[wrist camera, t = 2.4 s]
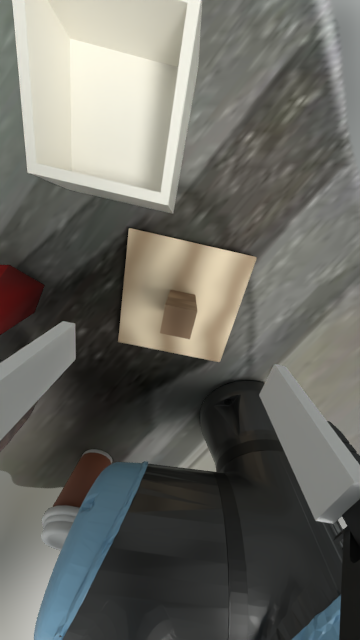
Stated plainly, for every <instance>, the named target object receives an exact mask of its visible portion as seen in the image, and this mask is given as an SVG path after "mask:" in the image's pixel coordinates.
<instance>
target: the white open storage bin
mask: <svg viewBox="0 0 360 640" xmlns="http://www.w3.org/2000/svg"><path fill="white" fill-rule="evenodd" d="M12 2H13V14H14V25H15V36H16V48H17V59H18V70H19V82H20V93H21V104H22V116H23V127H24V138H25V150H26V161H27V172H28V173H30V174H32V175H35V176H37V177H39V178H42V179H44V180H47V181H49V182H51V183H54V184H56V185H59V186H61V187H63V188H66V189H68V190H72V191H76V192H81V193H85V194H89V195H94V196H98V197H102V198H107V199H111V200H115V201H119V202H124V203H128V204H132V205H137V206H141V207H145V208H149V209H154V210H158V211H162V212H167V213H171V214H173V212H174V206H175V200H176V194H177V189H178V183H179V177H180V171H181V165H182V159H183V154H184V148H185V142H186V136H187V130H188V124H189V119H190V113H191V107H192V101H193V95H194V89H195V83H196V78H197V72H198V64H199V46H200V29H201V12H202V0H12Z"/></svg>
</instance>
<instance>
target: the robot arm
mask: <svg viewBox="0 0 360 640" xmlns="http://www.w3.org/2000/svg"><path fill="white" fill-rule="evenodd" d="M75 360H76V342H75V323H70V322H65V321H62V322H61V323H59V324H58V325H56V326H55V327H53V328H52V329H50V330H49V331H47V332H46V333H45V334H43V335H42V336H40V337H39V338H37V339H36V340H34V341H33V342H31V343H30V344H28V345H27V346H25V347H24V348H22V349H21V350H19V351H18V352H16V353H15V354H13V355H12V356H10V357H9V358H7V359H6V360H1V359H0V440H1V439H2V438H3V437H4V436H5V435H6V434H7V433H8V432H9V431H10V430H11V429H12V428H13V426H14V425H15V424H16V423H17V422H18V421H19V420H20V419H21V418H22V417H23V416H24V415H25V414H26V412H27V411H28V410H29V409H30V408H31V407H32V406H33V405H34V404H35V403H36V402H37V401H38V399H39V398H40V397H41V396H42V395H43V394H44V393H45V392H46V391H47V390H48V389H49V388H50V387H51V385H52V384H53V383H54V382H55V381H56V380H57V379H58V378H59V377H60V376H61V375H62V374H63V372H64V371H65V370H66V369H67V368H68V367H69V366H70V365H71V364H72V363H73V362H74V361H75ZM200 424H201V430H202V434H203V436H204V439H205V441H206V443H207V446H208V448H209V450H210V453H211V455H212V457H213V460H214V462H215V465H216V471H217V472H212V471H203V470H195V469H187V468H178V467H170V466H162V465H154V464H148V462H147V461H144V462H143V463H128V462H116V463H113V464H111V465H109V466H108V467H106V468H105V469H104V470H103V471H102V472H101V473H100V475H99V476H98V477H97V479H96V480H95V482H94V483H93V485H92V487H91V488H90V490H89V492H88V494H87V495H86V497H85V499H84V501H83V503H82V505H81V507H80V509H79V511H78V513H77V515H76V517H75V519H74V522H73V524H72V526H71V528H70V530H69V533H68V535H67V537H66V540H65V542H64V544H63V547H62V549H61V552H60V554H59V557H58V559H57V562H56V564H55V567H54V569H53V572H52V575H51V577H50V580H49V583H48V586H47V589H46V592H45V594H44V598H43V601H42V604H41V607H40V610H39V614H38V617H37V621H36V626H35V632H34V640H360V456H359V454H357V453H356V450H355V449H354V448H353V447H352V445H350V444H349V441H348V440H347V439H346V438H345V436H344V435H343V434H342V433H341V431H340V430H338V429H337V428H336V427H335V426H334V425H333V424H332V423H331V422H329V421H326V419H325V418H324V417H323V415H322V414H321V413H320V411H319V410H318V409H317V407H316V406H315V405H314V403H313V402H312V401H311V399H310V398H309V397H308V395H307V394H306V393H305V391H304V390H303V389H302V387H301V386H300V385H299V383H298V382H297V381H296V380H295V378H294V377H293V376H292V374H291V373H290V372H289V370H288V369H287V368H286V366H282V365H277V364H274V366H273V368H272V370H271V372H270V374H269V376H268V378H267V380H266V382H265V383H262V382H257V381H237V382H233V383H229V384H226V385H224V386H221V387H220V388H218V389H216V390H215V391H213V392H212V393H211V394H210V395H209V396H208V397H207V398H206V399H205V401H204V402H203V404H202V406H201V410H200ZM340 517H343V519H344V520H345V522H346V524H347V527H346V528H345V529H342V527H341V525H340V523H339V522H338V519H339V518H340Z"/></svg>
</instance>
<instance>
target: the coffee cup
mask: <svg viewBox="0 0 360 640" xmlns="http://www.w3.org/2000/svg"><path fill="white" fill-rule="evenodd" d="M112 461H113V460H112V458H111V456H110V455H109V454H108V453H106V452H104V451H102V450H98V449H90V450H87V451H85V452H84V453H83V455H82V457H81V459H80V460H79V462H78V464H77V465H76V467H75V469H74V471H73V472H72V474H71V476H70V478H69V479H68V481H67V483H66V484H65V486H64V488H63V490H62V492H61V493H60V495H59V497H58V498H57V500H56V502H55V503H54V505H53V507H51V508H49V509H48V510H47V511H46V512H45V513H44V515H43V517H42V524H43V529H44V530H43V532H42V534H41V538H42V541H43V542H44V543H45V544H46V545H48V546H50V547H51V548H54V549H57V550H61V549H62V547H63V544H64V542H65V540H66V537H67V535H68V533H69V530H70V528H71V526H72V524H73V522H74V519H75V517H76V515H77V513H78V511H79V509H80V507H81V505H82V503H83V501H84V499H85V497H86V495H87V494H88V492H89V490H90V488H91V487H92V485H93V483H94V482H95V480H96V479H97V477H98V476H99V475H100V473H101V472H102V471H103V470H104V469H105V468H106V467H108V466H109V465H111V464H112Z"/></svg>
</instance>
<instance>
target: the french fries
mask: <svg viewBox="0 0 360 640" xmlns="http://www.w3.org/2000/svg"><path fill="white" fill-rule="evenodd" d="M43 288H44V285H43V284H42V283H40V282H38V281H36V280H35V279H33V278H31V277H30V276H28V275H26V274H24V273H23V272H21V271H19V270H17V269H16V268H14V267H12V266H10V265H0V335H1V334H2V333H4V332H6V331H7V330H9V329H10V328H12V327H13V326H15V325H16V324H18V323H19V322H21V321H22V320H24V319H25V318H27V317H28V316H30V315H31V314H33V313H34V312H35V310H36V307H37V304H38V302H39V299H40V296H41V293H42V291H43Z"/></svg>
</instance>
